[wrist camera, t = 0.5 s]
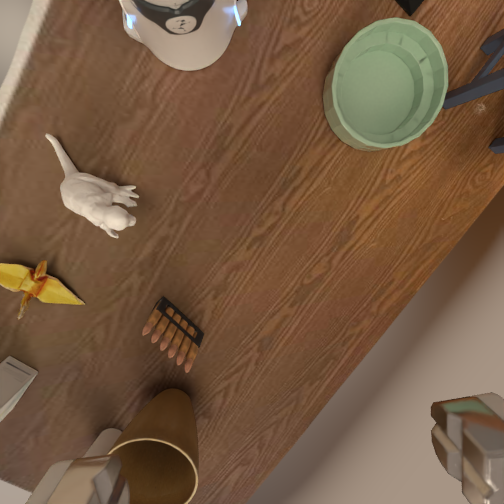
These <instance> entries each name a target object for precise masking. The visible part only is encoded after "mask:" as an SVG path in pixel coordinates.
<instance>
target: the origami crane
mask: <svg viewBox="0 0 504 504" xmlns="http://www.w3.org/2000/svg"><path fill="white" fill-rule="evenodd" d="M46 270H47V260H46V261H45V260H42V261H41V262H40V263H39V264H38V266H37V269H32V268H28V267H26V266H22V265H20V264H19V265H18V264H3V263H0V285H2V286H3V287H5V288H7V289H9V290H12V291H14V292H15V291H17V292H18V291H19V292H20V291H24V294H23V299H22V301H21V309H20V310H21V312H19V313H18V318H17V319H18V320H19V319H21V318H22V317H23V316H24V312H25V311H26V310H27V309H28V307H29V301H30V300H31V297H37V298H38V299H39V300H40V301H42V302H45V303H62V304H74V305H78V304H79V305H85V303H84V302H83V301H81V300H80V299H79V298H77V296H76V295H74V294H73V293H72V292H71V291H70V290H68V289H67V288H66V287H65V286H64V285H63V284H62V283H61V282H60V281H59V280H58V279H57V278H54V277H52V276H50V275H45V274H46Z"/></svg>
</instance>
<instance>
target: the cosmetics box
mask: <svg viewBox="0 0 504 504" xmlns="http://www.w3.org/2000/svg"><path fill="white" fill-rule="evenodd" d="M37 374H38V371H36V370H35V369H33V368H31V367H29V366H27V365H25V364H24V363H22V362H20V361H18V360H17V359H15V358H13V357H11V356H8V357H7V358H6V359H5V360H4V361H2V362H1V363H0V422H1V421H2V420H3V419H4V418H5V416H6V415H7V414H8V413H9V412H10V411H11V410H12V409H13V408H14V407H15V405H16V404H17V402H18V401H19V399H20V398H21V397H22V395H23V394H24V392H25V391H26V389H27V388H28V386H29V385H30V384H31V382H32V381H33V379H34V378H35V376H36V375H37Z"/></svg>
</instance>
